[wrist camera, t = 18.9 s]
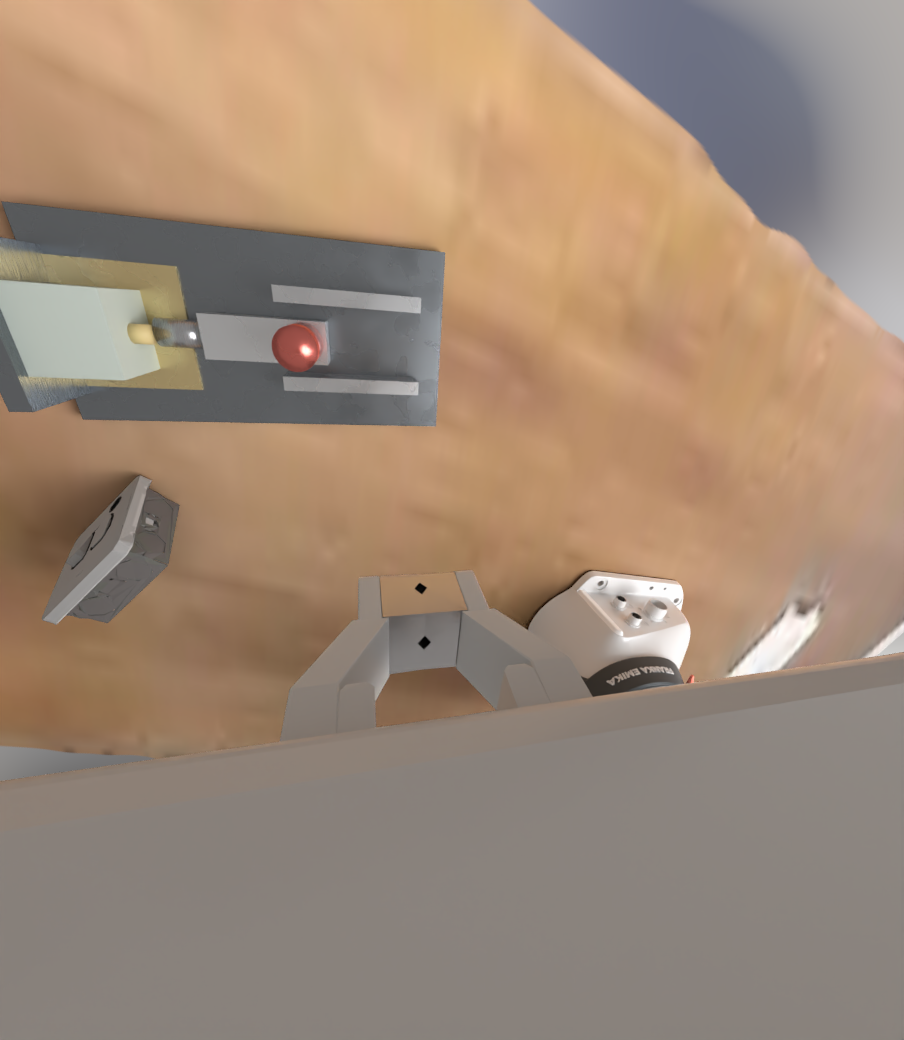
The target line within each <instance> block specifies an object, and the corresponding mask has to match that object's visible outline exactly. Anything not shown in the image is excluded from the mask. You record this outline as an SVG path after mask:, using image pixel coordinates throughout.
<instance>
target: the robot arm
mask: <svg viewBox="0 0 904 1040" xmlns="http://www.w3.org/2000/svg"><path fill="white" fill-rule="evenodd" d="M682 603H683V590H682V587H681V585H680V584H679V583H678V582H677V581H674V580H667V579H658V578H650V577H641V576H633V575H625V574H616V573H608V572H599V571H590V572H588V573H586V574H584V575H583V576H582V577H581V578H580V579H579V580H578V581H577V582H576V583H575V584H574V585H573V586H572V587H571V588H570V589H568V590H567V591H565V592H563V593H561V594H560V595H558V596H556V597H555V598H553V599H552V600H550V601H549V602H548V603H547V604H546V605H544V606H543V607H542V608H541V609H540V610H539V612H538V613H537V614H536V615H535V617H534V618H533V620H532V621H531V623H530V625H529V628H528V630H527V629H525V628H524V627H522V626H521V625H519V624H518V623H516V622H515V621H513V620H512V619H510V618H509V617H507V616H506V615H504V614H502V613H501V612H499V611H498V610H496V609H495V608H493V609H489V607H488V604H487V602H486V600H485V597H484V595H483V593H482V590H481V588H480V586H479V583H478V581H477V579H476V576H475V574H474V572H473V571H472V570H463V571H453V572H447V573H432V574H409V575H384V576H366V577H359V580H358V620H352V621H351V622H350V623H349V624H348V626H347V627H346V628H345V629H344V630H343V631H342V632H341V633H340V634H339V635H338V637H337V638H336V639H335V640H334V641H333V642H332V643H331V644H330V645H329V646H328V648H327V649H326V650H325V651H324V652H323V653H322V654H321V655H320V656H319V657H318V659H317V660H316V661H315V662H314V663H313V664H312V665H311V666H310V667H309V669H308V670H307V671H306V672H305V673H304V674H303V675H302V676H301V677H300V678H299V680H298V681H297V682H296V683H295V684H294V685H293V686H292V687H291V688H290V691H289V696H288V701H287V706H286V711H285V717H284V722H283V727H282V732H281V738H280V742H273V743H266V744H259V745H252V746H245V747H237V748H230V749H223V750H216V751H209V752H202V753H195V754H188V755H181V756H174V757H167V758H160V759H153V760H146V761H139V762H132V763H125V764H118V765H111V766H104V767H97V768H90V769H82V770H75V771H68V772H61V773H54V774H47V775H40V776H33V777H26V778H19V779H12V780H5V781H0V1040H904V652H901V653H895V654H889V655H883V656H876V657H869V658H862V659H855V660H848V661H841V662H834V663H827V664H820V665H813V666H806V667H799V668H792V669H785V670H778V671H771V672H764V673H757V674H750V675H743V676H736V677H729V678H722V679H715V680H708V681H701V682H699V681H697V682H694V676H693V675H691V676H690V677H689V679H688V681H687V683H686V684H684V683H683V680H682V677H681V675H680V672H679V669H680V666H681V664H682V661H683V658H684V656H685V653H686V650H687V647H688V644H689V640H690V626H689V623H688V621H687V619H686V618H685V616H684V615H683V613H682V612H681V607H682ZM445 667H456V669H457V670H458V671H459V672H460V673H461V674H462V675H463V676H464V677H465V678H466V679H467V680H468V681H469V682H470V683H471V684H472V685H473V686H474V687H475V688H476V689H477V690H478V691H479V693H480V694H481V695H482V696H483V697H484V698H485V699H486V700H487V701H488V702H489V703H490V704H491V705H492V706H493V707H494V708H495V709H496V711H490V712H483V713H476V714H469V715H462V716H455V717H448V718H441V719H434V720H426V721H419V722H412V723H405V724H398V725H391V726H384V727H377V728H376V713H375V701H376V699H377V698H378V696H379V694H380V692H381V690H382V689H383V687H384V685H385V683H386V681H387V679H388V678H389V674H394V673H401V672H408V671H415V670H422V669H433V668H445ZM693 682H694V683H693Z"/></svg>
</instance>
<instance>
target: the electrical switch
mask: <svg viewBox="0 0 904 1040" xmlns="http://www.w3.org/2000/svg"><path fill="white" fill-rule="evenodd" d="M151 482H152V480H150V479H148V478H146V477H144V476H141V475H140V476H137V477H136V478H135V479H134V480H133V481H132V482H131V483H130V484H129V485H128V486H127V487H126V488H125V489H124V491H123V492H122V493H121V494H120V495H119V496H118V497H117V498H116V499H115V500H114V501H113V502H112V503H111V504H110V505H109V506H108V507H107V508H106V509H105V510H104V511H103V512H102V513H101V514H100V515H99V516H98V518H97V519H96V520H95V521H94V522H93V523H92V524H91V525H90V526H89V527H88V528H87V529H86V530H85V531H84V532H83V533H82V534H81V535H80V536H79V538H78V539H77V541H76V542H75V544H74V546H73V548H72V550H71V552H70V554H69V556H68V558H67V561H66V563H65V565H64V567H63V569H62V572H61V574H60V576H59V578H58V580H57V583H56V585H55V587H54V589H53V592H52V594H51V597H50V599H49V602H48V604H47V607H46V609H45V611H44V614H43V616H42V620H43V621H47V622H50V623H54V624H55V625H56V624H57V623H59V622H60V621H61V620H62V619H63V618H64V617H65V616H74V617H78V618H88V619H93V620H97V621H101V622H105V623H108V622H109V621H110V620H111V619H112V618H114V617H115V616H116V615H117V614H118V613H119V612H120V611H121V610H122V609H123V608H124V607H125V606H126V605H127V604H128V603H129V602H130V601H131V600H132V599H133V598H135V597H136V596H137V595H138V594H139V593H140V592H141V591H142V590H143V589H144V588H145V587H146V586H147V585H148V584H149V583H150V582H151V581H152V580H153V579H154V578H155V577H157V576H158V575H159V574H160V573H161V572H162V571H163V570H164V569H165V568H166V567H167V566H168V565H167V564H168V563H169V558H170V553H171V547H172V542H173V537H174V531H175V526H176V521H177V515H178V510H179V505H178V504H176V503H174V502H172V501H170V500H168V499H166V498H164V497H163V496H162V495H160V494H158V493H156V492H154V491H152V490H151V489H149V486H150V484H151ZM157 517H158V518H157ZM163 552H164V553H163ZM152 559H153V560H152ZM155 560H156V561H155ZM158 561H159V562H158ZM161 562H163V563H161ZM164 563H166V564H164ZM152 571H153V572H152ZM125 581H126V582H125ZM114 609H115V610H114Z"/></svg>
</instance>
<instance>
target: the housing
mask: <svg viewBox="0 0 904 1040" xmlns="http://www.w3.org/2000/svg"><path fill="white" fill-rule="evenodd" d="M0 309H1V311H2V314H3V316H4V318H5V321H6V323H7V326H8V328H9V330H10V333H11V335H12V338H13V340H14V342H15V345H16V347H17V350H18V352H19V354H20V357H21V359H22V361H23V364H24V366H25V369H26V371H27V373H28V376H29V377H48V378H74V379H101V380H128V379H131V378H134V377H137V376H140V375H143V374H146V373H149V372H153V371H156V370H159V369H160V365H159V361H158V358H157V354H156V350H155V346H154V345H155V344H156V340H155V338H154V335H153V331H152V326H151V325H149V324H148V320H147V316H146V312H145V308H144V305H143V301H142V297H141V293H140V290H130V289H117V288H105V287H93V286H80V285H68V284H55V283H41V282H26V281H10V280H0Z"/></svg>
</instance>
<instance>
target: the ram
mask: <svg viewBox="0 0 904 1040" xmlns="http://www.w3.org/2000/svg"><path fill="white" fill-rule="evenodd" d="M196 316H197V320H187V319H172V318H158V317H155V318H153V320H152V331H153V335H154V338H155V340H156V342H157V343H158V344H159V345H160V346H161V347H177V348H195V349H204V354H205V359H210V360H230V361H250V362H270V363H279V364H280V365H282V366H283V367H284V368H286V369H288V370H290V371H293V372H304V371H306V370H308V369H310V368H311V367H312V366H313V365H329V363H330V361H331V358H330V344H329V329H328V321H325V320H312V319H298V318H284V317H271V316H257V315H243V314H229V313H216V312H203V313H196Z"/></svg>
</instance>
